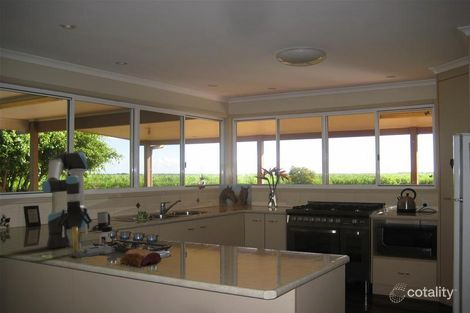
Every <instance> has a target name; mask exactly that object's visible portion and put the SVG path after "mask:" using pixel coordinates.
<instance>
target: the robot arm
mask: <svg viewBox="0 0 470 313" xmlns="http://www.w3.org/2000/svg"><path fill="white" fill-rule="evenodd" d="M86 169H88V163H87V158H86V153H84V152H81V151H80V152H79V151H77V152H61V153H59V154H56V155H54V156H53V157H52V158H51V159H50V160H49V162H48V173H47V178H46V180H43V181H42V183H41V188H42V192H43V193H61V192H66V201H67V202H66V207H67V209H61V211H55V212H51V213H49V214H48V215H47V227H48V228H47V229H48V238H47V240H46V245H45V247H46V249H59V248H65V247H69V246H71V241H70V238H69V235H68V231H69V230H71V231H72V227H78V230H82V229H85V232H84V234H85V235H88V234H89V232H88V230H89V229H90V224H91V223H92V222H93V220H92V219H91V217H90V210H88V208H87V207H86V205H85V204H86V203H85V202H86V201H85V185H84V184H85V183H84V180H85V179H84V173H85V172H86ZM63 170H67V172H68V174H70V175H67V176H65V179H61V175H62V171H63Z"/></svg>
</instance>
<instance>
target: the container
mask: <svg viewBox="0 0 470 313" xmlns="http://www.w3.org/2000/svg"><path fill="white" fill-rule="evenodd" d="M110 232H112V233H113V226H112V225H108V226H104V227H102V230H101V233H102V234H100V235H98V236H99V245H100V244H102V243H106V242H111V241H112V239H111V238H110V236H108V233H110ZM116 238H117V237H116ZM116 238H115V239H114V240H116ZM116 241H117V240H116Z"/></svg>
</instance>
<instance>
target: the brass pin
mask: <svg viewBox="0 0 470 313" xmlns="http://www.w3.org/2000/svg"><path fill="white" fill-rule="evenodd" d="M71 233H72V234H71V235H72V250H73V251H77V252H80V246H79V229H78V227H72V230H71ZM73 251H72V252H73Z"/></svg>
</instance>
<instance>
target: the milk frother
mask: <svg viewBox="0 0 470 313" xmlns="http://www.w3.org/2000/svg"><path fill="white" fill-rule="evenodd" d="M96 214H97V224H95V225H93V226H92V227H91V228H92V230H97V231H102V227H104V226H111V214H110V213H109V212H108V211H99V212H98V211H97V212H96Z"/></svg>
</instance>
